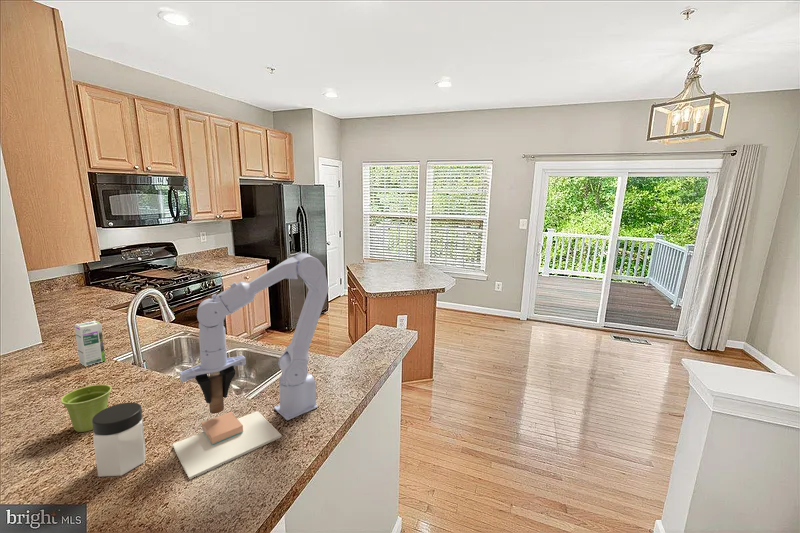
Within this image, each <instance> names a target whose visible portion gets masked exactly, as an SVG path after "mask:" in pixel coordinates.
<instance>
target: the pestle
mask: <svg viewBox="0 0 800 533" xmlns="http://www.w3.org/2000/svg"><path fill="white" fill-rule="evenodd" d="M208 378H209V379H210V380H211V381H210V396H211V403H208V406H209V413H210V414H219V413H221V412H223V411H224V409H225V401H224V400H225V398H224V397H223V381H222V374H220V373H212V374H211V375H210V374H209V375H208Z"/></svg>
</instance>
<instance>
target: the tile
mask: <svg viewBox="0 0 800 533" xmlns="http://www.w3.org/2000/svg"><path fill="white" fill-rule="evenodd" d="M201 430H202V432H204V433H205V434H206V436H207V437H208V439H209V440H210V442H211V444H212V445H215V444H217V443H219V442H222V441H224V440H226V439H229V438H231V437H234V436H236V435H238V434H241V433H243V425H242V424H241V423H240V421H239V420H238V418H237V417H236V416H235V414H234V413H233V411H229V412H226V413H223V414H221V415H217V416H216V417H212V418H210V419H207V420H205V421H202V422H201Z"/></svg>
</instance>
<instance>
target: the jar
mask: <svg viewBox="0 0 800 533" xmlns="http://www.w3.org/2000/svg"><path fill="white" fill-rule="evenodd" d="M92 424H93V430H92V431H93V435H92V438H93V447H94V455H95V463H96V470H97V477H99V478H100V477H120V476H121V477H122V476H125V474H127V473H128V472H130V471H132V470H134V469H136V468H137V467H138V466H140V465H142V464H143V463H145V462H146V452H147V451H146V441H145V432H144V430H145V429H144V421H143V409H142V405H141V404H140V403H137V402H123V403H118V404H115V405H112V406H107V408H106V409H104V410H102V411H100V412H99V413H97V414H96V415H95V416H94V417H93V419H92Z"/></svg>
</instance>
